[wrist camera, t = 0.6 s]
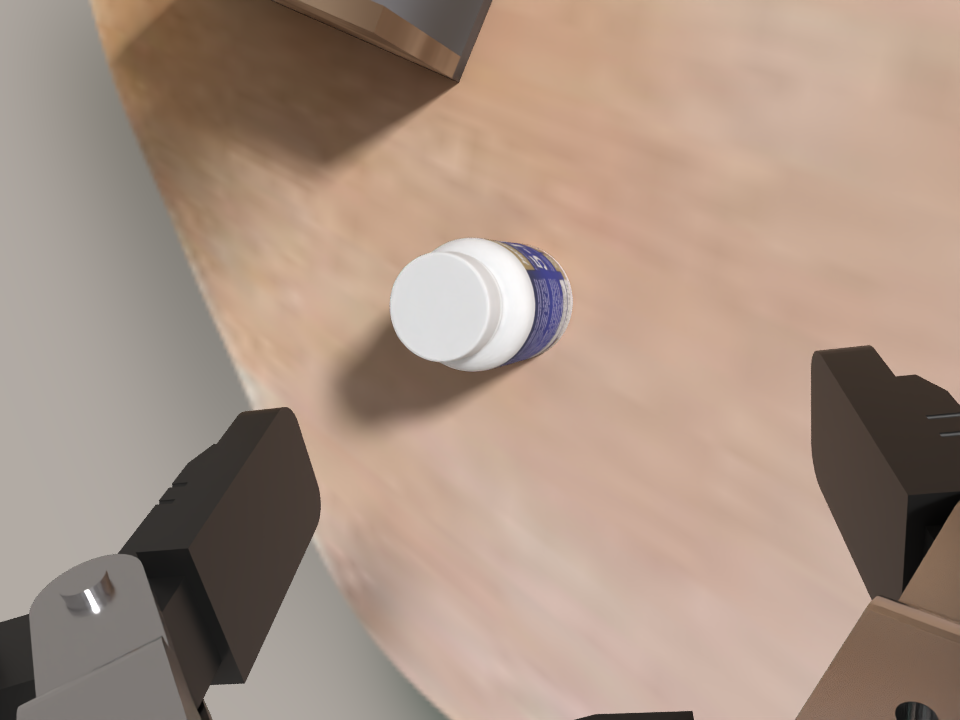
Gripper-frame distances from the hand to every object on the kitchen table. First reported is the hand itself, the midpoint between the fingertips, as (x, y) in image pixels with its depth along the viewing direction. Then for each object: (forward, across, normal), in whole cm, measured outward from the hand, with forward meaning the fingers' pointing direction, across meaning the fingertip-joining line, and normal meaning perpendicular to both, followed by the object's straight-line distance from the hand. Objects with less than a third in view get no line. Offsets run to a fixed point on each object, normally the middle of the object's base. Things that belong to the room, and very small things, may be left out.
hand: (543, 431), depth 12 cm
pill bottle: (+24, +3, +7) cm, 25 cm away
